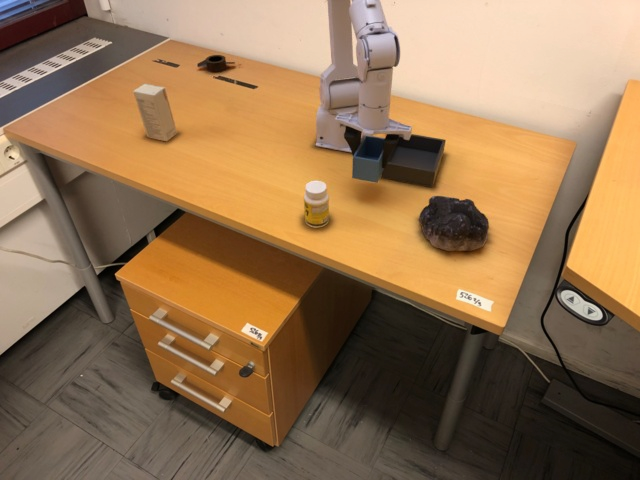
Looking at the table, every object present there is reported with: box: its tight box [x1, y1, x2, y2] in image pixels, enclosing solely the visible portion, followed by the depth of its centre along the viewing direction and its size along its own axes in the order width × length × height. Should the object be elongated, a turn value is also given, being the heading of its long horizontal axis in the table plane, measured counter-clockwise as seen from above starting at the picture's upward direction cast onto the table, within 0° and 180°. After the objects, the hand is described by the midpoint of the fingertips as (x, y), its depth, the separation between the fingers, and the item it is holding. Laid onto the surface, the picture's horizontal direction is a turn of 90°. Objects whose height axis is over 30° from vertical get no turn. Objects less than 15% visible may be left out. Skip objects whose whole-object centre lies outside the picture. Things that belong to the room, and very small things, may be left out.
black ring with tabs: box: [197, 54, 236, 74], centre depth 153 cm, size 8×10×3 cm
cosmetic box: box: [132, 83, 178, 142], centre depth 122 cm, size 6×4×12 cm
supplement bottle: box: [303, 180, 330, 229], centre depth 99 cm, size 5×5×8 cm
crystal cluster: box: [418, 195, 490, 252], centre depth 96 cm, size 13×14×10 cm
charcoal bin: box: [380, 133, 447, 188], centre depth 114 cm, size 11×13×4 cm
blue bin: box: [351, 135, 385, 184], centre depth 102 cm, size 8×5×5 cm, turn 160°
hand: (370, 163), depth 103 cm, fingers closed on blue bin, 5 cm apart
